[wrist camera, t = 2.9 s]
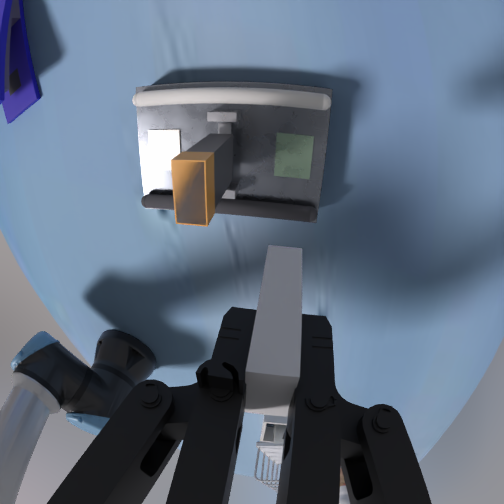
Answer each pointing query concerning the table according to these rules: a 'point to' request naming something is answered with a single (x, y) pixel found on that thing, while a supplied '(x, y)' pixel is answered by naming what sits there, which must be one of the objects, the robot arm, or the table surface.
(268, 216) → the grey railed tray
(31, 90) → the stapler
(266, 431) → the mug tray
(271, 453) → the file sorter
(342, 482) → the fruit juice
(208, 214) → the lever
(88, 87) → the table surface
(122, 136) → the table surface
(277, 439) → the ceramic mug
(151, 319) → the table surface
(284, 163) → the breaker panel
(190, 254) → the table surface
